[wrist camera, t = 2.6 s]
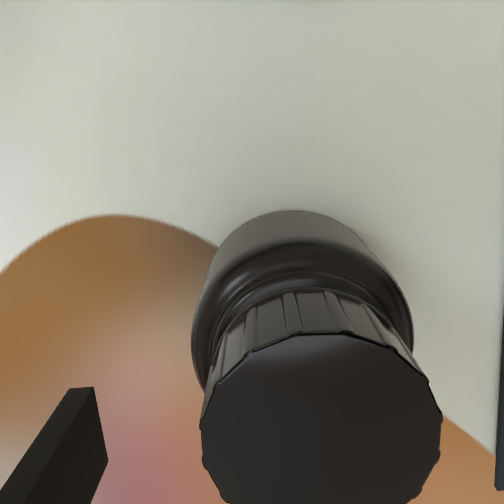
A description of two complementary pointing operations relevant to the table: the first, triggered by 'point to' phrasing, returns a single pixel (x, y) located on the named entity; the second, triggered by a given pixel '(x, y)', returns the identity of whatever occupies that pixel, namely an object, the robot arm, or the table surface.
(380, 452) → the ink bottle
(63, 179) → the table surface
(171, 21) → the table surface
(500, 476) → the mat
